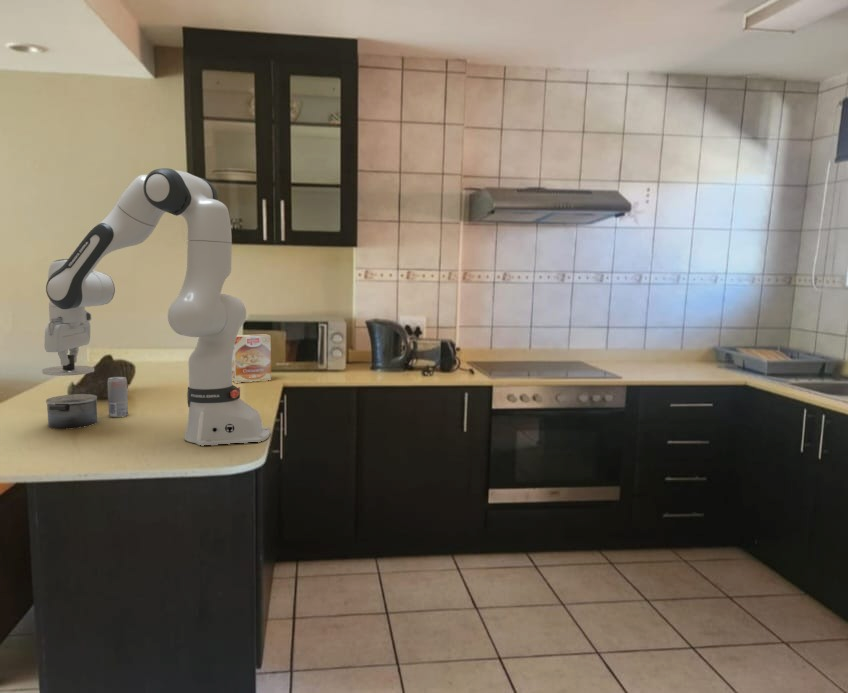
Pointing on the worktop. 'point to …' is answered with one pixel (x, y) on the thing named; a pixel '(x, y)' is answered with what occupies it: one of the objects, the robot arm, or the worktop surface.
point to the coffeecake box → (251, 358)
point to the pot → (72, 411)
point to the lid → (68, 369)
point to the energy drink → (117, 396)
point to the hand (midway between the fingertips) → (68, 364)
